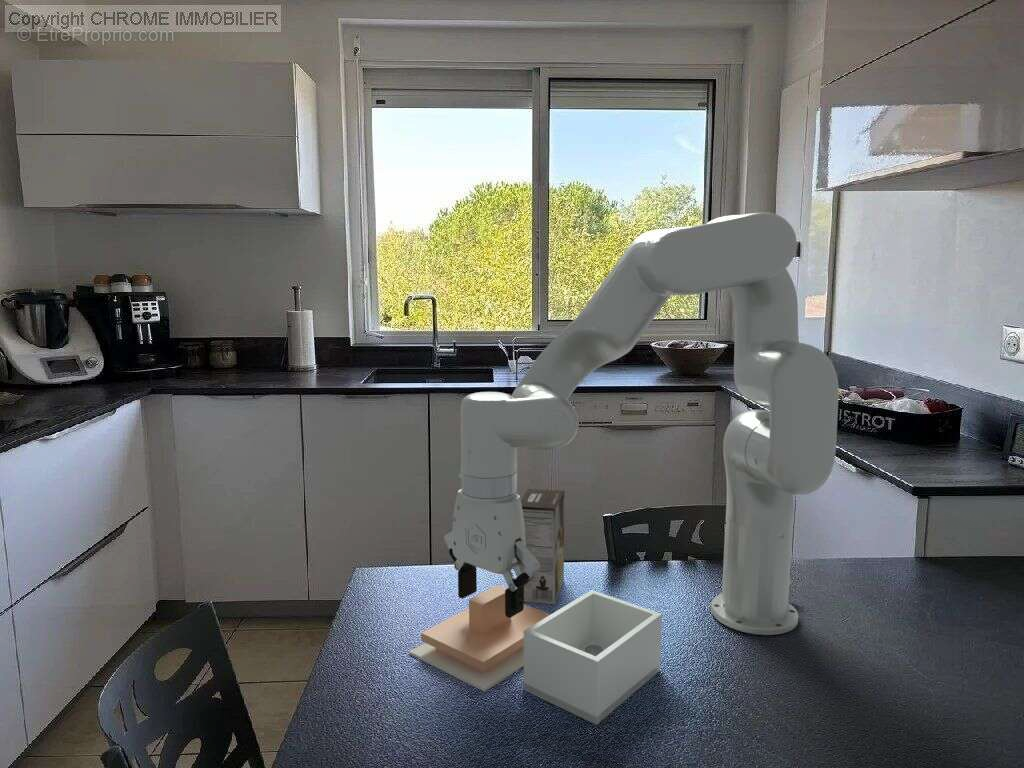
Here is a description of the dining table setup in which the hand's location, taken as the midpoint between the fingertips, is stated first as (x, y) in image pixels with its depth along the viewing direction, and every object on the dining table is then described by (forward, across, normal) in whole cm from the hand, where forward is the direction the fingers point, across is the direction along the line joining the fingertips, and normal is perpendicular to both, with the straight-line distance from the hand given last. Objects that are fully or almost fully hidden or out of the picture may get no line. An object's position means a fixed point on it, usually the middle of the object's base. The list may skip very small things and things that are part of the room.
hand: (490, 603), depth 102 cm
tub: (+6, +16, +2) cm, 17 cm away
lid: (+6, 0, 0) cm, 6 cm away
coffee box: (+6, -5, +18) cm, 20 cm away
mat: (+6, 0, 0) cm, 6 cm away
